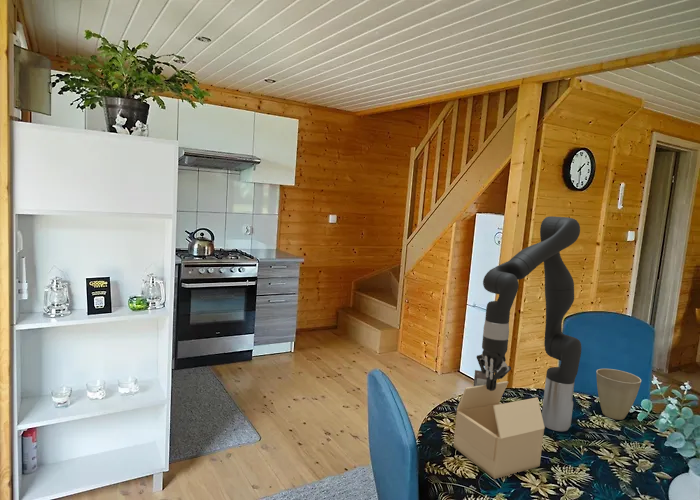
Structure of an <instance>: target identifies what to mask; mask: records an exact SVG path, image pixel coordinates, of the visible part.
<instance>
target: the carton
mask: <svg viewBox="0 0 700 500" xmlns="http://www.w3.org/2000/svg"><path fill="white" fill-rule="evenodd" d="M499 404H502V403H501V402H499V403H496V404H490V405H485V406H479V407H474V408H469V409H463V410H456V414H455V415H456V417H455V427H454V436H453V448H454V449H456V450H457V451H458V452H459V453H461V454H462V455H463V456H465V458H467V459H468V460H470V462H472V463H473V464H475V465H476V466H478V467H479V469H481V470H483V472H485V473H486V474H487V475H489V476H490V477H491V478H493V479H494V480H495V479H500V478H503V477H506V476H510V474H511V475H514V474H517V472H518V473H520V472H523V471H528V470H531V469H534V468H538V467H541V466H540V465H541V458H542V457H541V456H542V449H543V441H544V433H545V429H540V430H536V431H532V432H527V433H523V434H519V435H515V436H510V437H506V438H502V439H500V437H499V433H498V428H497V423H496V418H495V413H494V408H493V406H494V405H499ZM513 473H514V474H513Z"/></svg>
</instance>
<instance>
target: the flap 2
mask: <svg viewBox="0 0 700 500" xmlns="http://www.w3.org/2000/svg"><path fill="white" fill-rule="evenodd" d="M493 408H494V413H495V418H496V423H497V428H498V433H499V437H500V439H502V438H506V437H510V436H515V435H519V434H523V433H527V432H532V431H536V430H540V429H544V430H545V429H546V427H545V426H544V423H543V418H542V410H541V407H540V402H539V398H538V397H537V396H536V397H532V398H527V399H523V400H515V401H510V402H505V403H501V404H499V405H494V406H493Z"/></svg>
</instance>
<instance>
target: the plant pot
mask: <svg viewBox="0 0 700 500" xmlns="http://www.w3.org/2000/svg"><path fill="white" fill-rule="evenodd" d="M595 373H596V388H597V389H596V390H597V394H598V399H599V400H598V401H599V405H600V408H601V411H602V412H601V413H602V415H604V416H605V417H607V418H610V419H612V420H619V421H621V420H625V418H626V417H627V416H628V413H629V412H630V411H631V408H632V407H633V405H634V403H635V400H636V398H637V396H638V394H639V390H640V386H641V383H642V379H641V378H640V377H639V376H638V375H635V374H633V373H631V372H627V371H624V370H619V369H615V368H614V369H613V368H599V369H596V371H595Z"/></svg>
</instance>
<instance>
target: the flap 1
mask: <svg viewBox="0 0 700 500" xmlns="http://www.w3.org/2000/svg"><path fill="white" fill-rule="evenodd" d="M508 384H509V381H507V380H506V381H500V382H497V383H496V389H495V390H493V391H490V390H488V389H487V387H486V385H480V386H474V385H473V386H467V387H465V388H464V390H463V393H462V395H461V398H460V400H459V403H458V405H457V408H456V411H458V410H463V409H469V408H474V407H479V406H485V405H490V404H496V403H501V399H502V397H503V395H504V393H505V390H506V388H507V386H508Z"/></svg>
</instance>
